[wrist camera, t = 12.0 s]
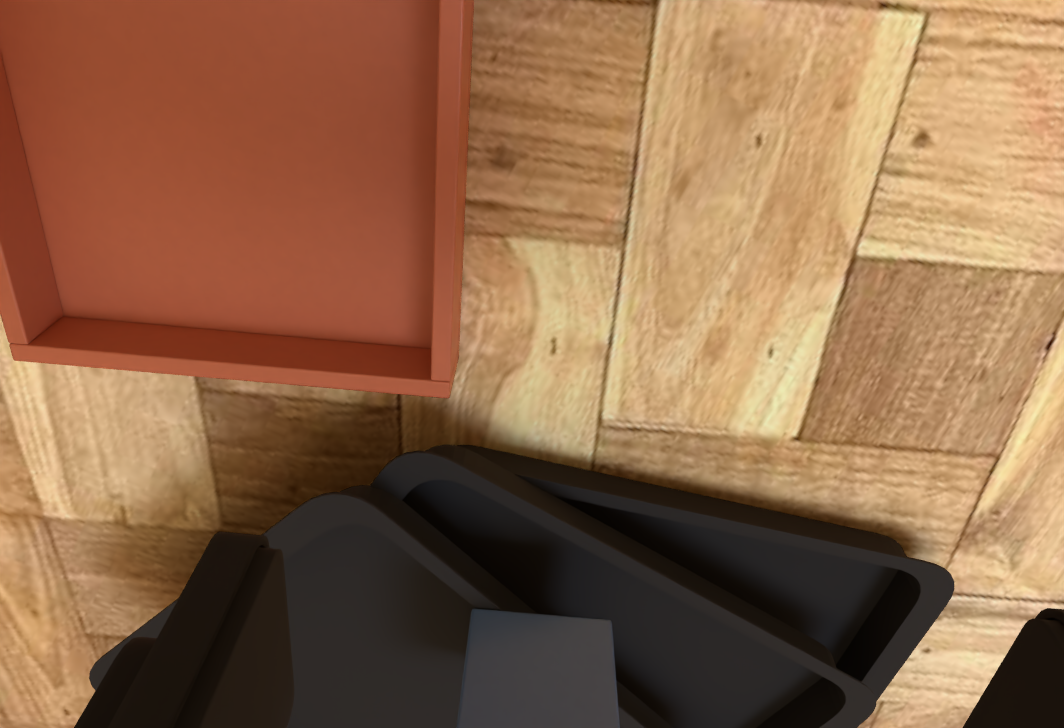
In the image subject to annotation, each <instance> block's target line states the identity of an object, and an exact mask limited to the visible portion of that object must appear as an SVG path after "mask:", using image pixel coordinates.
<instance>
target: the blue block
mask: <svg viewBox="0 0 1064 728" xmlns="http://www.w3.org/2000/svg"><path fill="white" fill-rule="evenodd" d="M456 728H620V725H619V712H618V699H617V685H616V672H615V658H614V645H613V632H612V622H611V620H605V619H593V618H581V617H569V616H557V615H545V614H533V613H521V612H510V611H498V610H486V609H472V611H471V617H470V625H469V632H468V640H467V648H466V656H465V664H464V672H463V680H462V688H461V695H460V703H459V711H458V719H457V727H456Z"/></svg>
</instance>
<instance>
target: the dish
mask: <svg viewBox="0 0 1064 728" xmlns="http://www.w3.org/2000/svg"><path fill="white" fill-rule="evenodd" d="M473 13H474V0H0V314H1V318H2V321H3V325H4V328H5V332H6V335H7V339H8V342H9V343H10V349H11V353H12V356H13V359H14V360H15V361H27V362H38V363H49V364H61V365H72V366H84V367H95V368H106V369H118V370H129V371H141V372H152V373H164V374H175V375H186V376H198V377H209V378H221V379H232V380H244V381H255V382H266V383H278V384H289V385H301V386H312V387H324V388H335V389H346V390H358V391H369V392H381V393H392V394H404V395H415V396H426V397H438V398H449V397H450V394H451V389H452V385H453V381H454V376H455V372H456V367H457V363H458V359H459V338H460V314H461V291H462V268H463V245H464V222H465V198H466V175H467V152H468V129H469V106H470V82H471V59H472V36H473Z"/></svg>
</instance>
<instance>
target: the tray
mask: <svg viewBox="0 0 1064 728" xmlns="http://www.w3.org/2000/svg"><path fill="white" fill-rule="evenodd" d="M262 536H266V537H267V539H268V541H269V547H270V548H271V549H281V550H282V552H283V559H284V571H285V583H286V594H287V606H288V618H289V630H290V641H291V653H292V665H293V677H294V702H293V708H292V713H291V717H290V720H289V723H288V726H287V728H456V727H457V719H458V711H459V703H460V695H461V688H462V680H463V672H464V664H465V656H466V648H467V640H468V632H469V625H470V617H471V611H472V609H486V610H498V611H510V612H521V613H533V614H545V615H557V616H569V617H581V618H593V619H605V620H611V622H612V632H613V645H614V658H615V672H616V685H617V699H618V712H619V725H620V728H857V727H858V726H859V725H860V724H861V723H862V722H864V721H865V720H866V719H867V718H868V717H869V716H870V715H871V714H872V713H873V711H874V709H875V707H876V701H877V700H878V698H879V697H880V696H881V694H882V693H883V692H884V690H885V689H886V687H887V686H888V685H889V683H890V682H891V681H892V679H893V678H894V676H895V675H896V674H897V672H898V671H899V670H900V668H901V667H902V666H903V664H904V663H905V661H906V660H907V659H908V657H909V656H910V655H911V653H912V652H913V650H914V649H915V648H916V646H917V645H918V644H919V642H920V641H921V639H922V638H923V637H924V635H925V634H926V633H927V631H928V630H929V629H930V627H931V626H932V624H933V623H934V622H935V620H936V619H937V618H938V616H939V615H940V613H941V612H942V611H943V609H944V608H945V607H946V605H947V603H948V602H949V600H950V599H951V597H952V594H953V591H954V580H953V578H952V576H951V574H950V573H949V572H948V571H947V570H946V569H945V568H943V567H941V566H939V565H937V564H934V563H931V562H927V561H923V560H919V559H914V558H909V557H907V556H906V555H905V553H904V551H903V549H902V547H901V545H900V544H899V543H897V542H896V541H895V540H893V539H891V538H889V537H887V536H884V535H880V534H877V533H872V532H867V531H863V530H858V529H854V528H849V527H845V526H840V525H835V524H831V523H826V522H822V521H817V520H812V519H808V518H803V517H799V516H794V515H790V514H785V513H780V512H776V511H771V510H767V509H762V508H758V507H753V506H748V505H744V504H739V503H735V502H730V501H725V500H721V499H716V498H712V497H707V496H703V495H698V494H693V493H689V492H684V491H680V490H675V489H671V488H666V487H661V486H657V485H652V484H648V483H643V482H638V481H634V480H629V479H625V478H620V477H616V476H611V475H606V474H602V473H597V472H593V471H588V470H583V469H579V468H574V467H570V466H565V465H561V464H556V463H551V462H547V461H542V460H538V459H533V458H529V457H524V456H519V455H515V454H510V453H506V452H501V451H496V450H492V449H487V448H483V447H477V446H471V445H457V446H455V445H440V446H435V447H433V448H430V449H428V450H426V451H413V452H407V453H404V454H402V455H400V456H397V457H396V458H394V459H393V460H392V461H390V462H389V463H388V464H387V465H386V466H385V467H384V468H383V470H382V471H381V472H380V473H379V474H378V476H377V477H376V479H375V480H374V481H373V483H372V484H371V485H370V486H365V485H361V486H355V487H350V488H348V489H345V490H343V491H341V492H332V493H325V494H321V495H319V496H316V497H314V498H311V499H309V500H308V501H306V502H305V503H303V504H302V505H300V506H299V507H297V508H296V509H295V510H293V511H292V512H291V513H289V514H288V515H287V516H286V517H284V518H283V519H282V520H280V521H279V522H278V523H276V524H275V525H274V526H272V527H271V528H270V529H269V530H267V531H266V532H265V533H263V534H262ZM178 599H179V598H178ZM178 599H177V600H175V601H174V602H173V603H172V604H170V605H169V606H168V607H166V608H165V609H164V610H162V611H161V612H160V613H158V614H157V615H156V616H155V617H153V618H152V619H151V620H149V621H148V622H147V623H145V624H144V625H143V626H141V627H140V628H139V629H137V630H136V631H135V632H134V633H132V634H131V635H130V636H128V637H127V638H126V639H124V640H123V641H122V642H120V643H119V644H118V645H116V646H115V647H114V648H113V649H111V650H110V651H109V652H107V653H106V654H105V655H103V656H102V657H101V658H100V659H99V660H98V661H97V662H96V663H95V664H94V666H93V667H92V669H91V671H90V676H89V679H90V682H91V685H92V686H93V688H94V689H95V691H96V690H97V688H98V686H99V685H100V683H101V681H102V680H103V678H104V676H105V674H106V673H107V671H108V669H109V668H110V666H111V664H112V663H113V661H114V659H115V658H116V656H117V655H118V653H119V652H120V651H121V649H122V648H123V646H124V645H125V644H126V643H128V642H129V641H130V640H131V639H132V638H136V637H149V638H157V637H158V635H159V633H160V632H161V630H162V628H163V626H164V624H165V623H166V621H167V619H168V617H169V615H170V613H171V612H172V610H173V608H174V606H175V604H176V603H177V601H178Z"/></svg>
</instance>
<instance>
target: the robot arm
mask: <svg viewBox="0 0 1064 728" xmlns="http://www.w3.org/2000/svg"><path fill="white" fill-rule="evenodd" d="M293 702H294V677H293V665H292V653H291V641H290V630H289V618H288V606H287V594H286V583H285V571H284V559H283V552H282V550H281V549H271V548H270V547H269V541H268V539H267V537H266V536H262V535H251V534H240V533H229V532H218V533H216V534H215V535H214V536H213V538H212V539H211V541H210V543H209V544H208V546H207V548H206V550H205V552H204V554H203V555H202V557H201V559H200V561H199V563H198V564H197V566H196V568H195V570H194V572H193V574H192V575H191V577H190V579H189V581H188V583H187V584H186V586H185V588H184V590H183V592H182V594H181V595H180V597H179V599H178V601H177V603H176V604H175V606H174V608H173V610H172V612H171V613H170V615H169V617H168V619H167V621H166V623H165V624H164V626H163V628H162V630H161V632H160V633H159V635H158V637H157V638H149V637H136V638H132V639H131V640H130V641H129V642H128V643H126V644H125V645H124V646H123V648H122V649H121V651H120V652H119V653H118V655H117V656H116V658H115V659H114V661H113V663H112V664H111V666H110V668H109V669H108V671H107V673H106V674H105V676H104V678H103V680H102V681H101V683H100V685H99V686H98V688H97V690H96V691H95V693H94V695H93V696H92V698H91V700H90V701H89V703H88V705H87V707H86V708H85V710H84V712H83V713H82V715H81V717H80V718H79V720H78V722H77V723H76V725H75V727H74V728H287V726H288V723H289V720H290V717H291V713H292V708H293ZM963 728H1064V610H1062V609H1051V608H1047V609H1045V610H1043V611H1041V612H1040V613H1039V614H1038V615H1037V616H1036V618H1035V619H1031V620H1029V621H1028V622H1027V623H1026V624H1025V625H1024V627H1023V628H1022V630H1021V632H1020V633H1019V635H1018V636H1017V638H1016V640H1015V641H1014V643H1013V645H1012V646H1011V648H1010V650H1009V651H1008V653H1007V655H1006V656H1005V658H1004V660H1003V661H1002V663H1001V665H1000V666H999V668H998V670H997V671H996V673H995V675H994V676H993V678H992V680H991V681H990V683H989V685H988V686H987V688H986V690H985V691H984V693H983V695H982V696H981V698H980V700H979V701H978V703H977V705H976V706H975V708H974V710H973V711H972V713H971V715H970V716H969V718H968V720H967V721H966V723H965V724H964V726H963Z"/></svg>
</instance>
